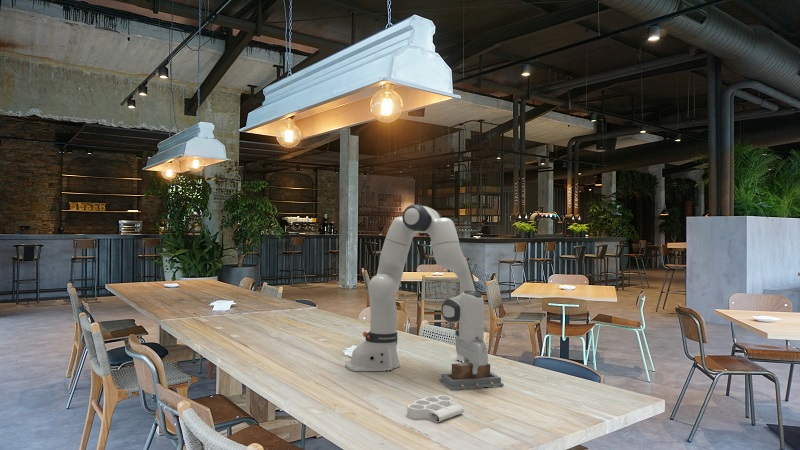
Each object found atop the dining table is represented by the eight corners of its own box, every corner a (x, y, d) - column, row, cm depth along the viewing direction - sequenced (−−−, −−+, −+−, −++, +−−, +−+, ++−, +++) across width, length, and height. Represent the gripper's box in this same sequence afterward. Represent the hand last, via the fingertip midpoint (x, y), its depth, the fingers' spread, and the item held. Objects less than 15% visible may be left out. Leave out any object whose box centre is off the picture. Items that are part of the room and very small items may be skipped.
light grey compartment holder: (432, 427, 147) (397, 414, 157) (470, 413, 159) (435, 401, 170) (432, 416, 147) (397, 403, 157) (470, 402, 159) (435, 391, 170)
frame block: (455, 380, 186) (456, 366, 186) (451, 377, 190) (451, 363, 190) (490, 377, 190) (490, 363, 190) (485, 374, 194) (485, 361, 194)
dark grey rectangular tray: (451, 390, 181) (451, 382, 181) (438, 381, 192) (438, 373, 192) (503, 386, 187) (503, 378, 187) (488, 377, 199) (488, 370, 199)
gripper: (492, 340, 181) (491, 378, 181) (467, 329, 201) (466, 364, 201) (476, 340, 179) (475, 379, 179) (453, 329, 199) (452, 365, 199)
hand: (470, 371), depth 190 cm, fingers closed on frame block, 4 cm apart
